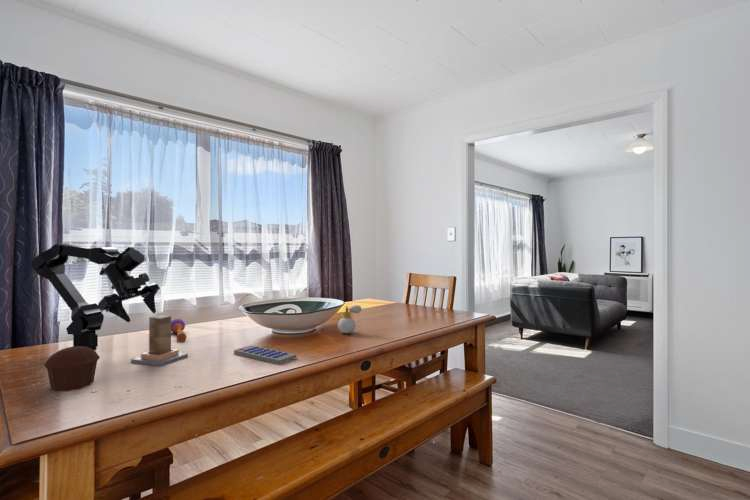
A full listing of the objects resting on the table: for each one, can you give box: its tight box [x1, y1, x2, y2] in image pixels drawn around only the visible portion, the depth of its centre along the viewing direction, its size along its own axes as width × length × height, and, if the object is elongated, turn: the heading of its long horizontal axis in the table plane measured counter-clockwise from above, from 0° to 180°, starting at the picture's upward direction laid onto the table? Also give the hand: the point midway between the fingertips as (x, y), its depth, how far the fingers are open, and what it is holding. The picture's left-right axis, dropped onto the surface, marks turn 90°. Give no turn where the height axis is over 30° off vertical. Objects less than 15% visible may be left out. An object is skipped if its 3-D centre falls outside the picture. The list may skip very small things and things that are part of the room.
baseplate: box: [130, 348, 189, 367], centre depth 127 cm, size 12×11×2 cm
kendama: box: [171, 318, 187, 342], centre depth 158 cm, size 6×6×20 cm
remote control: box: [233, 345, 297, 365], centre depth 132 cm, size 8×23×2 cm, turn 59°
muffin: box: [43, 346, 101, 392], centre depth 103 cm, size 12×11×10 cm
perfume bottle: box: [337, 304, 362, 335], centre depth 167 cm, size 8×10×12 cm
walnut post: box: [148, 314, 172, 355], centre depth 126 cm, size 4×4×13 cm
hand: (142, 317), depth 132 cm, fingers open, 9 cm apart
